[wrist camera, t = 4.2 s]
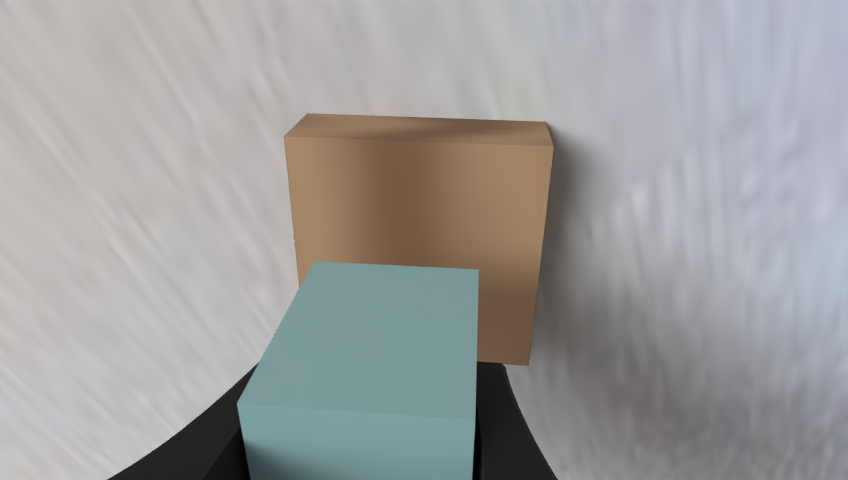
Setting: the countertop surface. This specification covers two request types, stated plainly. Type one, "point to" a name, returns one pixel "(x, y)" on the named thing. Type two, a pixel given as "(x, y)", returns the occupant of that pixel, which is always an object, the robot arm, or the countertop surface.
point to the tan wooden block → (429, 206)
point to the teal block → (368, 378)
